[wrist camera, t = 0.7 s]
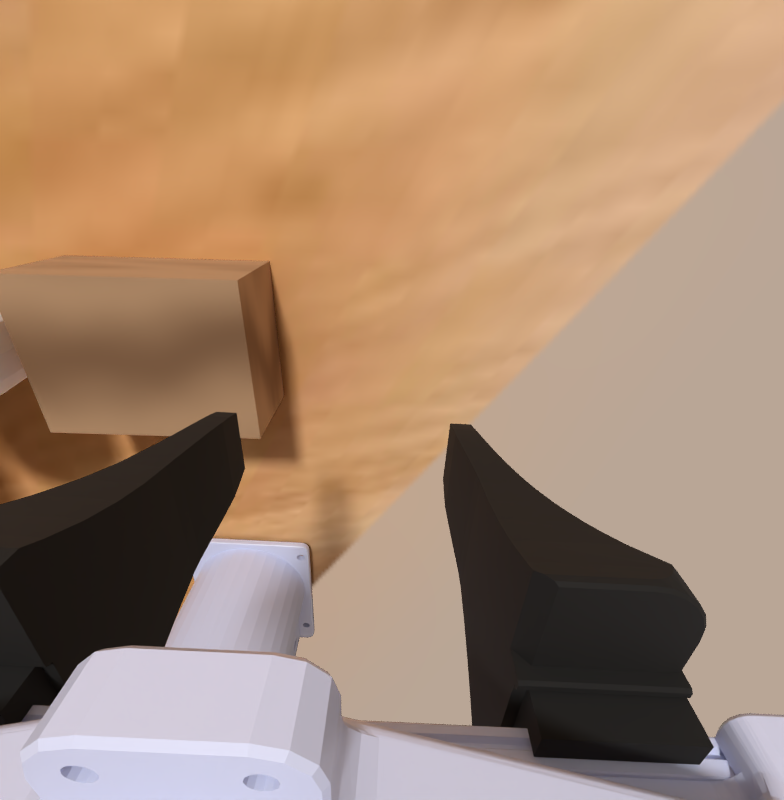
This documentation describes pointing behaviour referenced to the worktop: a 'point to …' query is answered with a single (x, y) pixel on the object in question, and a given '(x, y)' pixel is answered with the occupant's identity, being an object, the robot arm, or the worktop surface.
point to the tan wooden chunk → (145, 342)
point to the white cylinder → (9, 361)
